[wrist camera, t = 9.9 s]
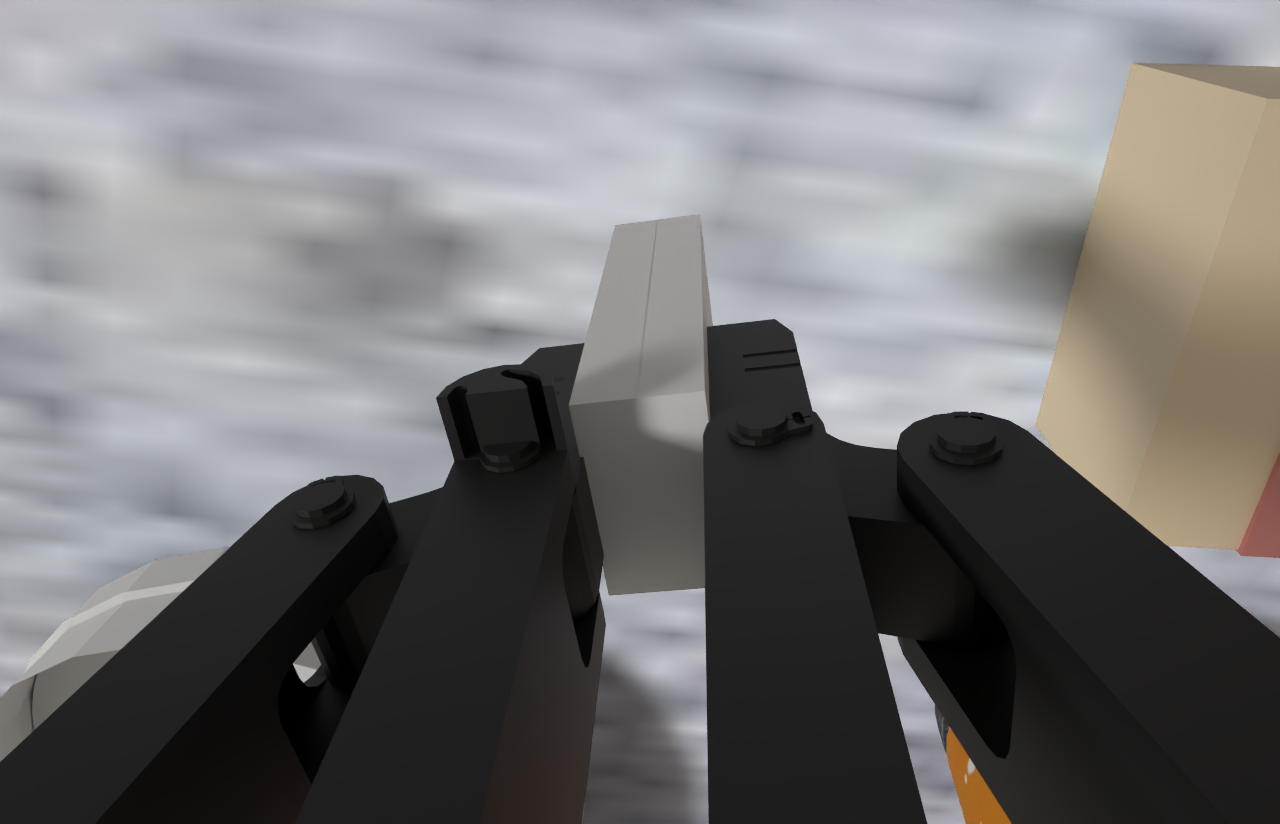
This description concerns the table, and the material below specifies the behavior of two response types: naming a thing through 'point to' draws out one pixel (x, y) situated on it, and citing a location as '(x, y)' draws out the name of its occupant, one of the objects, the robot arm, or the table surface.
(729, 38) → the table surface
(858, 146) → the table surface
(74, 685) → the dish
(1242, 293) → the carton
